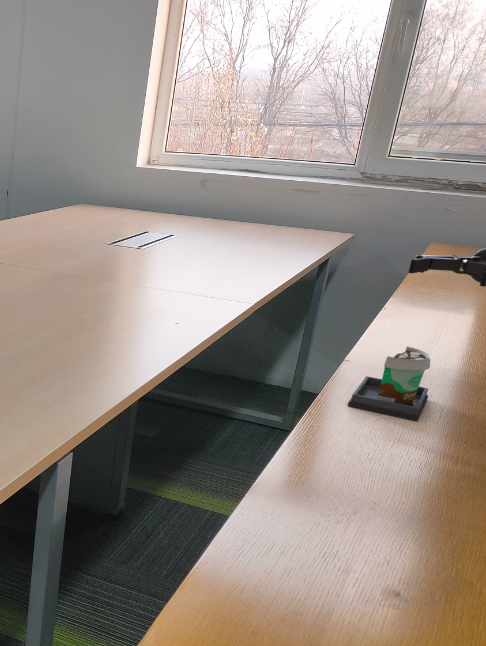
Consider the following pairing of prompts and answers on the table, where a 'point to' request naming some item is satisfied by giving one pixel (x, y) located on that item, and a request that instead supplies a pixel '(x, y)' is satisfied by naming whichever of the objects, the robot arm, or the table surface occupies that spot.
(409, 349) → the food container
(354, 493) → the table surface
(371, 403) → the pad
